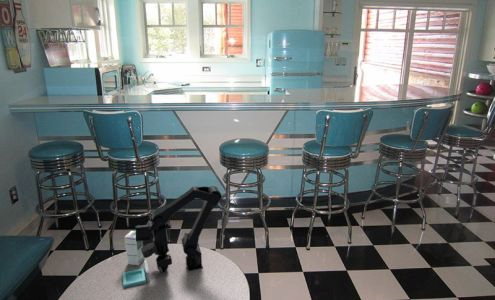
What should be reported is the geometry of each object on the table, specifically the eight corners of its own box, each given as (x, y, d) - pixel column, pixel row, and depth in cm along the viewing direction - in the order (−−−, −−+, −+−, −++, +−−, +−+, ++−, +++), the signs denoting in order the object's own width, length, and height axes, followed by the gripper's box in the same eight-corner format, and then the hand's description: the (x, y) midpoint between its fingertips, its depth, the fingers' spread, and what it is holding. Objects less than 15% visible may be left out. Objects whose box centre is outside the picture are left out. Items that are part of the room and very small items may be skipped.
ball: (168, 266, 159) (167, 256, 157) (169, 272, 154) (169, 262, 153) (156, 268, 157) (156, 259, 156) (158, 275, 153) (157, 265, 151)
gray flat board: (147, 267, 158) (146, 259, 157) (149, 281, 149) (149, 273, 147) (144, 267, 158) (144, 259, 157) (146, 281, 148) (146, 273, 147)
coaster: (144, 270, 156) (144, 268, 155) (146, 282, 148) (145, 279, 147) (123, 275, 153) (122, 272, 152) (123, 287, 144) (123, 284, 144)
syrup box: (138, 265, 159) (136, 237, 156) (127, 264, 161) (124, 236, 157) (144, 258, 165) (142, 231, 161) (133, 257, 166) (130, 230, 162)
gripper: (140, 231, 157) (142, 261, 161) (143, 252, 140) (146, 285, 144) (165, 226, 161) (167, 256, 165) (171, 247, 144) (173, 279, 148)
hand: (163, 268), depth 155 cm, fingers closed on ball, 5 cm apart
